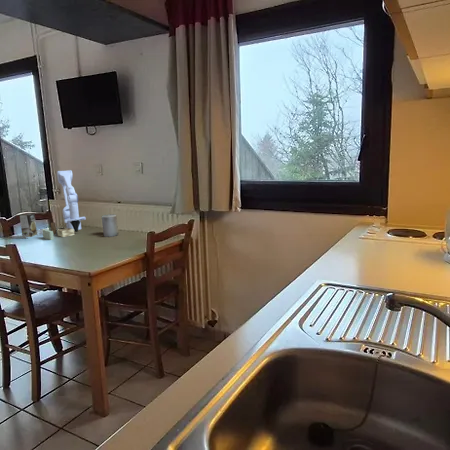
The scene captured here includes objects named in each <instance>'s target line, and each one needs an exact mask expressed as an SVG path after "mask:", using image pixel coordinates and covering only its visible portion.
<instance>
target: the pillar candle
mask: <svg viewBox="0 0 450 450" xmlns="http://www.w3.org/2000/svg"><path fill="white" fill-rule="evenodd" d="M101 223H102V225H101V226H102V231H103V233H102V235H103V237H105V238H109V237H110V238H112V237H117V236H119V229H118V227H119V225H118V219H117V214H114V213H113V214H111V213H108V214H104V215H102V216H101Z"/></svg>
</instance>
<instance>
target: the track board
mask: <svg viewBox="0 0 450 450" xmlns="http://www.w3.org/2000/svg"><path fill="white" fill-rule="evenodd" d="M41 231H42V238H44V239H46V240H50V241H53V240H54V239H55V237H54V234H53V231H52V230H49V229H47V228H46V229H42V230H41Z"/></svg>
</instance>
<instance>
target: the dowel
mask: <svg viewBox="0 0 450 450" xmlns="http://www.w3.org/2000/svg"><path fill="white" fill-rule="evenodd" d="M50 229H51V230H50V231H53V235H58V232H57V225H56V222H50Z"/></svg>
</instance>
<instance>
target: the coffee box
mask: <svg viewBox="0 0 450 450" xmlns="http://www.w3.org/2000/svg"><path fill="white" fill-rule="evenodd" d="M19 221H20V228H21V238H22V239H23V240H24V239H26V240H27V239H28V238H32V237H34V236H37V235H38V229H37V223H36V214H35V212H30V213H29V212H28V213H24V214H21V215H19ZM28 240H29V239H28Z"/></svg>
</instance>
